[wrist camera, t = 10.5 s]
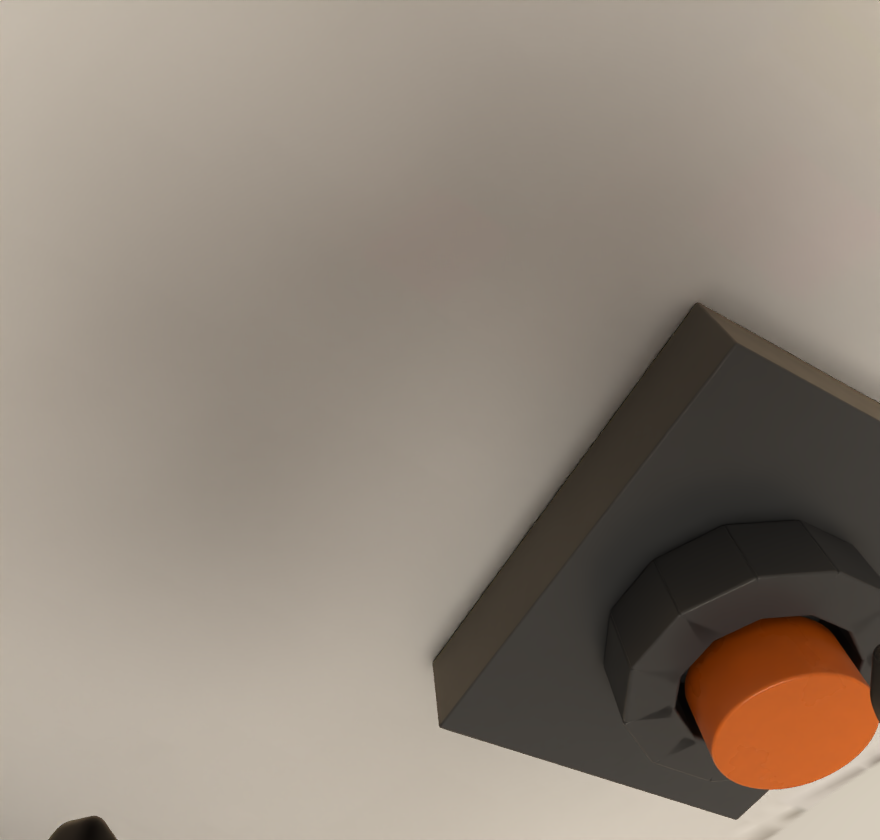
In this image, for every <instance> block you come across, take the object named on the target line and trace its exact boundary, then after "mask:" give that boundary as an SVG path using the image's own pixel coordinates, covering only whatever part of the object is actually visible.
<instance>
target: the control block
mask: <svg viewBox="0 0 880 840" xmlns="http://www.w3.org/2000/svg"><path fill="white" fill-rule="evenodd" d="M793 616H802V617H806V618H809V619H812V620H815V621H816V622H818V623H820V624H822V625H824V626H825V627H826V628H828V629H829V630H830V631H831V632H832V633H833V635H834V636H835V637H836V639H837V640H838V642H839V643H840V645H841V646H842V647H843V649H844V650H845V652H846V653H847V655H848V656H849V658H850V659H851V660H852V662H853V663H854V665H855V666H856V668H857V669H858V671H859V672H860V673H861V675H862V676H863V678H864V679H865V681H866V682H867V683H868V685H869V686H870V683H871V670H872V658H873V651H874V649H875V648H876V646H877V645H879V644H880V403H878V402H876V401H874V400H873V399H871V398H869V397H867V396H865V395H864V394H862V393H860V392H858V391H856V390H855V389H853V388H851V387H849V386H847V385H846V384H844V383H842V382H840V381H839V380H837V379H835V378H833V377H831V376H830V375H828V374H826V373H824V372H822V371H821V370H819V369H817V368H815V367H813V366H812V365H810V364H808V363H806V362H804V361H803V360H801V359H799V358H797V357H796V356H794V355H792V354H790V353H788V352H787V351H785V350H783V349H781V348H779V347H778V346H776V345H774V344H772V343H770V342H769V341H767V340H765V339H763V338H761V337H760V336H758V335H756V334H754V333H753V332H751V331H749V330H747V329H745V328H744V327H742V326H740V325H738V324H736V323H735V322H733V321H731V320H729V319H727V318H726V317H724V316H722V315H720V314H718V313H717V312H715V311H713V310H711V309H710V308H708V307H706V306H704V305H702V304H701V303H696V304H695V306H694V307H693V308H692V310H691V311H690V312H689V314H688V315H687V316H686V318H685V319H684V321H683V322H682V323H681V325H680V326H679V327H678V329H677V330H676V331H675V333H674V334H673V336H672V337H671V338H670V340H669V341H668V342H667V344H666V345H665V346H664V348H663V349H662V351H661V352H660V353H659V355H658V356H657V357H656V359H655V360H654V361H653V363H652V364H651V366H650V367H649V368H648V370H647V371H646V372H645V374H644V375H643V377H642V378H641V379H640V381H639V382H638V383H637V385H636V386H635V387H634V389H633V390H632V392H631V393H630V394H629V396H628V397H627V398H626V400H625V401H624V402H623V404H622V405H621V407H620V408H619V409H618V411H617V412H616V413H615V415H614V416H613V417H612V419H611V420H610V422H609V423H608V424H607V426H606V427H605V428H604V430H603V431H602V433H601V434H600V435H599V437H598V438H597V439H596V441H595V442H594V443H593V445H592V446H591V448H590V449H589V450H588V452H587V453H586V454H585V456H584V457H583V458H582V460H581V461H580V463H579V464H578V465H577V467H576V468H575V469H574V471H573V472H572V473H571V475H570V476H569V478H568V479H567V480H566V482H565V483H564V484H563V486H562V487H561V489H560V490H559V491H558V493H557V494H556V495H555V497H554V498H553V499H552V501H551V502H550V504H549V505H548V506H547V508H546V509H545V510H544V512H543V513H542V514H541V516H540V517H539V519H538V520H537V521H536V523H535V524H534V525H533V527H532V528H531V529H530V531H529V532H528V534H527V535H526V536H525V538H524V539H523V540H522V542H521V543H520V545H519V546H518V547H517V549H516V550H515V551H514V553H513V554H512V555H511V557H510V558H509V560H508V561H507V562H506V564H505V565H504V566H503V568H502V569H501V570H500V572H499V573H498V575H497V576H496V577H495V579H494V580H493V581H492V583H491V584H490V585H489V587H488V588H487V590H486V591H485V592H484V594H483V595H482V596H481V598H480V599H479V601H478V602H477V603H476V605H475V606H474V607H473V609H472V610H471V611H470V613H469V614H468V616H467V617H466V618H465V620H464V621H463V622H462V624H461V625H460V626H459V628H458V629H457V631H456V632H455V633H454V635H453V636H452V637H451V639H450V640H449V641H448V643H447V644H446V646H445V647H444V648H443V650H442V651H441V652H440V654H439V655H438V656H437V658H436V659H435V661H434V662H433V672H434V682H435V691H436V701H437V711H438V720H439V727H440V728H443V729H446V730H449V731H452V732H456V733H459V734H462V735H465V736H468V737H472V738H475V739H478V740H481V741H485V742H488V743H491V744H494V745H497V746H501V747H504V748H507V749H510V750H513V751H517V752H520V753H523V754H526V755H529V756H533V757H536V758H539V759H542V760H546V761H549V762H552V763H555V764H558V765H562V766H565V767H568V768H571V769H574V770H578V771H581V772H584V773H587V774H591V775H594V776H597V777H600V778H603V779H607V780H610V781H613V782H616V783H619V784H623V785H626V786H629V787H632V788H635V789H639V790H642V791H645V792H648V793H652V794H655V795H658V796H661V797H664V798H668V799H671V800H674V801H677V802H680V803H684V804H687V805H690V806H693V807H697V808H700V809H703V810H706V811H709V812H713V813H716V814H719V815H722V816H725V817H729V818H732V819H735V820H737V819H738V818H739V817H740V816H742V815H743V814H744V813H745V812H746V811H747V810H748V809H749V808H750V807H751V806H752V805H753V804H754V803H756V802H757V801H758V800H759V799H760V798H761V797H762V796H763V795H764V794H765V793H766V792H767V791H769V790H768V789H756V788H750V787H746V786H742V785H740V784H737V783H735V782H733V781H731V780H730V779H728V778H727V777H726V776H724V775H723V774H722V773H721V772H720V771H719V770H718V768H717V767H716V765H715V763H714V762H713V759H712V757H711V755H710V753H709V750H708V748H707V746H706V743H705V741H704V739H703V737H702V734H701V732H700V730H699V727H698V725H697V723H696V721H695V718H694V716H693V714H692V711H691V709H690V707H689V705H688V702H687V699H686V696H685V679H686V675H687V672H688V669H689V667H690V666H691V665H692V664H693V663H694V662H695V661H696V660H697V659H698V658H699V657H700V655H701V654H702V653H703V652H704V651H705V650H706V649H707V648H708V647H709V646H710V645H711V644H712V642H713V641H715V640H717V639H719V638H721V637H724V636H726V635H728V634H730V633H732V632H734V631H736V630H739V629H741V628H743V627H745V626H747V625H749V624H751V623H754V622H756V621H758V620H760V619H765V618H779V617H793Z"/></svg>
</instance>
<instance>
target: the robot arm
mask: <svg viewBox="0 0 880 840" xmlns="http://www.w3.org/2000/svg"><path fill="white" fill-rule="evenodd" d="M870 699H871V704H872V707H873V710H874V713H875V715H876V717H877V719H878V721H879V723H880V644H879V645H877V646H876V648H875V649H874V651H873V658H872V670H871V683H870ZM48 840H117V839H116V837H115V836H114V834H113V833H112V831H111V830H110V829H109V827H108V826H107V824H106V823H105V821H104V820H103V819H102V818H100V817H97V816H90V817H86V818H81V819H76V820H72V821H68V822H66V823H64V824H62V825H61V826H60V827H59V828H57V829H56V831H55V832H54V833H53V834H52V836H51V837H50V838H49V839H48Z"/></svg>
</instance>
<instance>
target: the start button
mask: <svg viewBox="0 0 880 840" xmlns="http://www.w3.org/2000/svg"><path fill="white" fill-rule="evenodd" d="M685 696H686V699H687V702H688V705H689V707H690V709H691V711H692V714H693V716H694V718H695V721H696V723H697V725H698V727H699V730H700V732H701V734H702V737H703V739H704V741H705V743H706V746H707V748H708V750H709V753H710V755H711V757H712V759H713V762H714V763H715V765H716V767H717V768H718V770H719V771H720V772H721V773H722V774H723V775H724V776H726V777H727V778H728V779H730V780H731V781H733V782H735V783H737V784H740V785H742V786H746V787H750V788H756V789H768V790H771V789H784V788H791V787H796V786H801V785H804V784H807V783H811V782H813V781H816V780H819V779H821V778H823V777H826V776H828V775H830V774H832V773H834V772H835V771H837V770H839V769H841V768H842V767H843V766H845V765H846V764H848V763H849V762H850V761H852V760H853V759H854V758H855V757H857V756H858V755H859V754H860V753H861V752H862V751H863V750H864V748H865V747H866V746H867V745H868V744H869V742H870V741H871V739H872V737H873V736H874V734H875V732H876V730H877V727H878V723H879V721H878V719H877V717H876V715H875V713H874V710H873V707H872V704H871V699H870V686H869V685H868V683H867V682H866V681H865V679H864V678H863V676H862V675H861V673H860V672H859V671H858V669H857V668H856V666H855V665H854V663H853V662H852V660H851V659H850V658H849V656H848V655H847V653H846V652H845V650H844V649H843V647H842V646H841V645H840V643H839V642H838V640H837V639H836V637H835V636H834V635H833V633H832V632H831V631H830V630H829V629H828V628H826V627H825V626H824V625H822V624H820V623H818V622H816V621H815V620H812V619H809V618H806V617H802V616H793V617H779V618H765V619H760V620H758V621H756V622H754V623H751V624H749V625H747V626H745V627H743V628H741V629H739V630H736V631H734V632H732V633H730V634H728V635H726V636H724V637H721V638H719V639H717V640H715V641H713V642H712V644H711V645H710V646H709V647H708V648H707V649H706V650H705V651H704V652H703V653H702V654H701V655H700V657H699V658H698V659H697V660H696V661H695V662H694V663H693V664H692V665H691V666H690V667H689V669H688V672H687V675H686V679H685Z"/></svg>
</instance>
